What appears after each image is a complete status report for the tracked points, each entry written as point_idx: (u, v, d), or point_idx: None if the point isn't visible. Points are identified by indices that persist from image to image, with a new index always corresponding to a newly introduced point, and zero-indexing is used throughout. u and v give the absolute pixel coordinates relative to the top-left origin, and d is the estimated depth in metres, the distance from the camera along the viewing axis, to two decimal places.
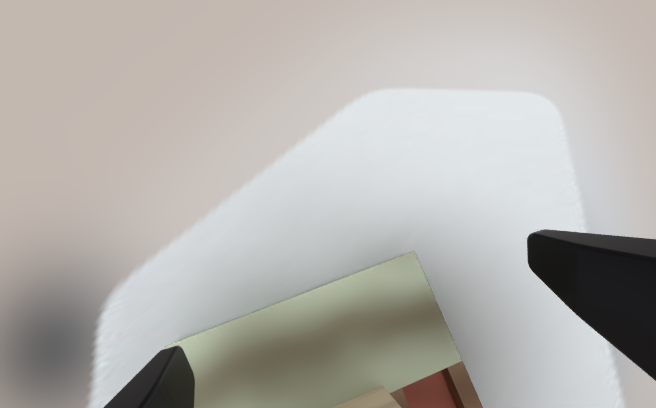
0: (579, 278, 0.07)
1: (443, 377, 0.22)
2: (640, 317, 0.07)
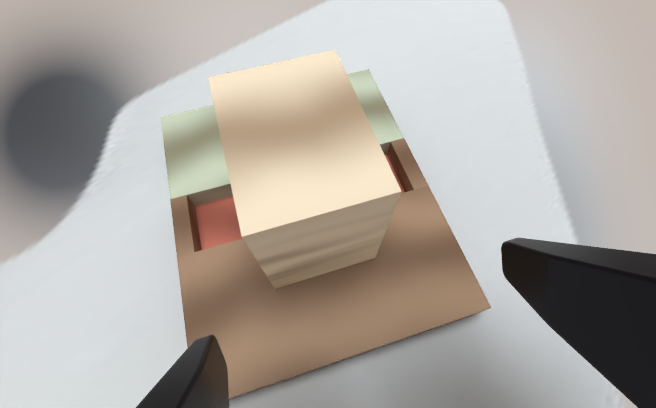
0: (549, 288, 0.07)
1: (391, 166, 0.25)
2: (607, 329, 0.06)
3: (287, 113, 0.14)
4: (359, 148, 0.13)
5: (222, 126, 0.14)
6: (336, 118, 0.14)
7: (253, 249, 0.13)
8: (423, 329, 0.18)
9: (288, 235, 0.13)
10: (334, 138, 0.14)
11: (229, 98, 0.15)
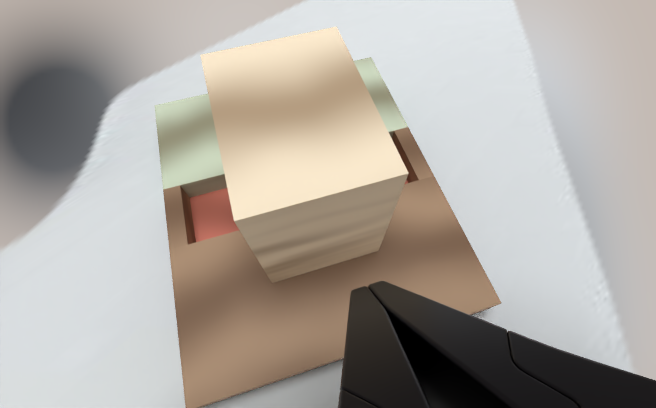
0: None
1: None
2: (430, 395, 0.06)
3: (284, 91, 0.13)
4: (362, 128, 0.12)
5: (214, 105, 0.13)
6: (337, 97, 0.13)
7: (247, 236, 0.12)
8: None
9: (286, 220, 0.12)
10: (336, 117, 0.13)
11: (223, 76, 0.14)
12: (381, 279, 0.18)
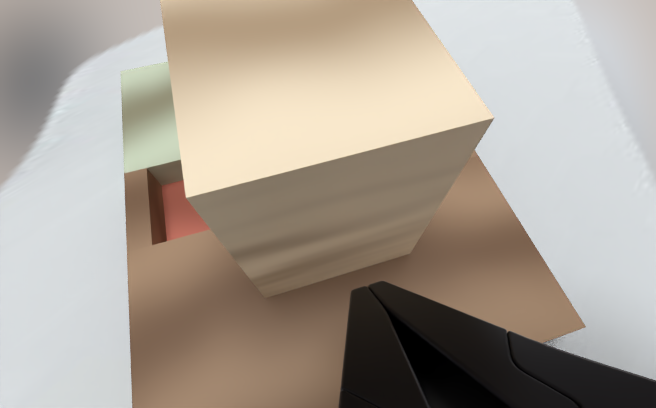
0: None
1: None
2: (430, 395, 0.06)
3: (281, 2, 0.08)
4: (407, 52, 0.08)
5: (169, 20, 0.08)
6: (364, 9, 0.08)
7: (217, 229, 0.07)
8: None
9: (281, 201, 0.07)
10: (364, 36, 0.08)
11: None
12: (416, 293, 0.13)
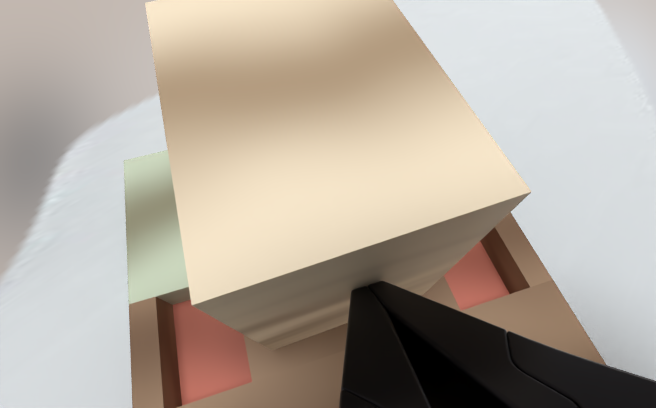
0: None
1: None
2: (429, 395, 0.06)
3: (285, 54, 0.08)
4: (428, 112, 0.07)
5: (164, 79, 0.07)
6: (377, 61, 0.08)
7: (225, 318, 0.06)
8: None
9: (297, 287, 0.06)
10: (379, 94, 0.07)
11: (181, 34, 0.08)
12: None
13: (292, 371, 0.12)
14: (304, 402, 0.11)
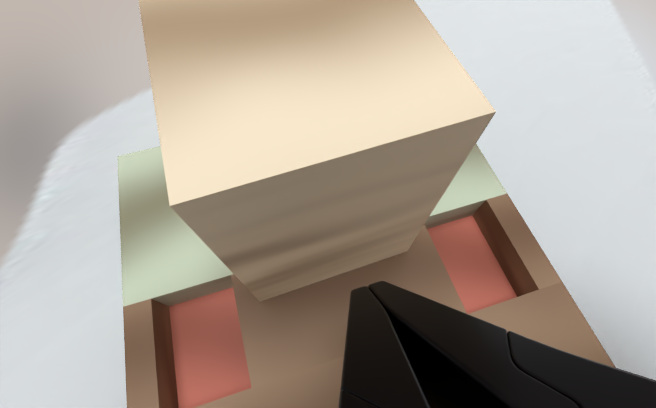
0: None
1: (480, 234, 0.16)
2: (430, 395, 0.06)
3: None
4: (402, 42, 0.07)
5: (148, 13, 0.08)
6: None
7: (206, 236, 0.07)
8: None
9: (274, 205, 0.07)
10: (356, 28, 0.07)
11: None
12: None
13: (293, 377, 0.11)
14: None
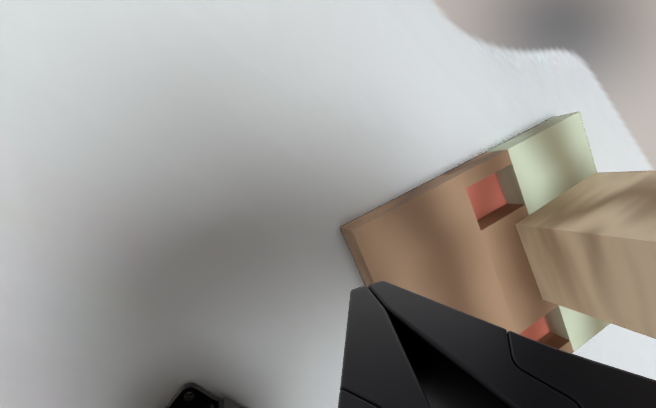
0: None
1: (539, 337, 0.26)
2: (430, 395, 0.06)
3: None
4: None
5: None
6: None
7: (627, 240, 0.17)
8: None
9: (645, 268, 0.16)
10: None
11: None
12: None
13: (486, 250, 0.22)
14: (475, 260, 0.22)
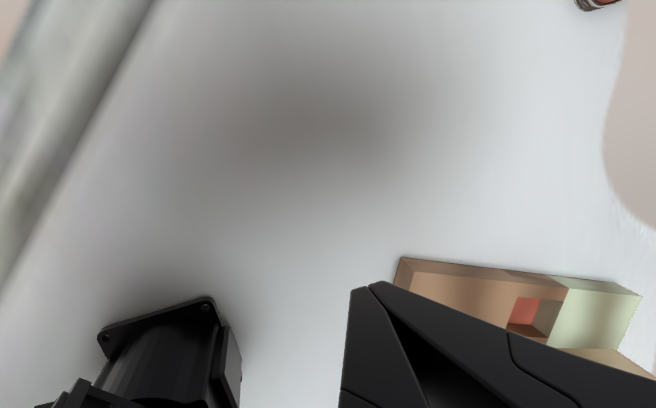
0: None
1: None
2: (430, 395, 0.06)
3: None
4: None
5: None
6: None
7: None
8: None
9: None
10: None
11: None
12: None
13: None
14: None
